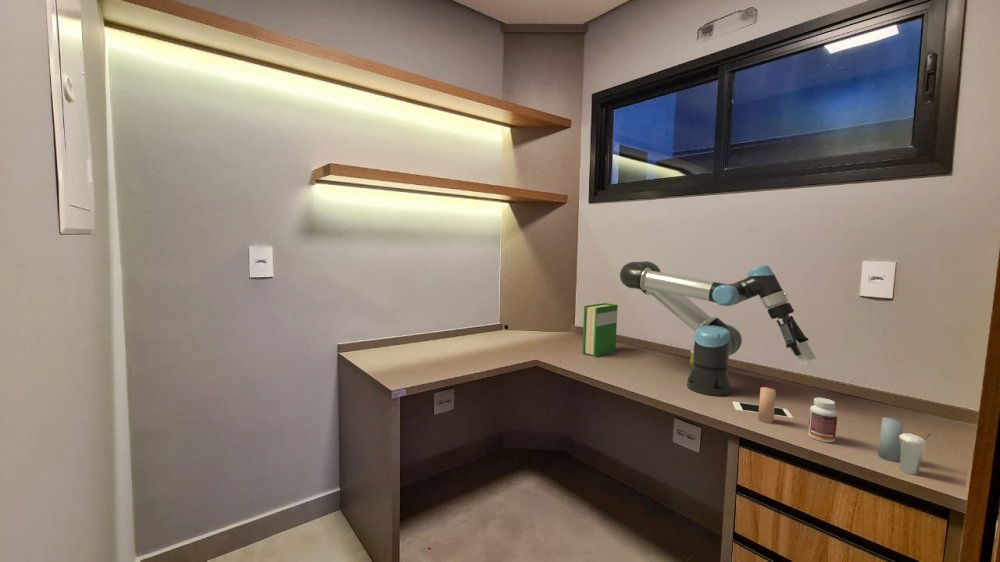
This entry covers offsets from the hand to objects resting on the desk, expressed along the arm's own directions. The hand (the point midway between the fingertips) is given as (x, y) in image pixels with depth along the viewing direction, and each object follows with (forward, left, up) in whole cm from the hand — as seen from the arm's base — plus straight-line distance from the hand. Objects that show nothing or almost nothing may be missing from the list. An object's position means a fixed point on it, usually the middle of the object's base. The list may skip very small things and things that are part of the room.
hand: (808, 362), depth 142 cm
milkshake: (+26, -36, -15) cm, 47 cm away
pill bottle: (+8, -30, -15) cm, 35 cm away
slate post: (+22, -31, -14) cm, 41 cm away
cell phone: (-9, -19, -15) cm, 26 cm away
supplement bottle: (-43, +19, -15) cm, 49 cm away
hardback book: (-84, +4, -15) cm, 85 cm away
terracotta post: (-6, -28, -14) cm, 32 cm away
